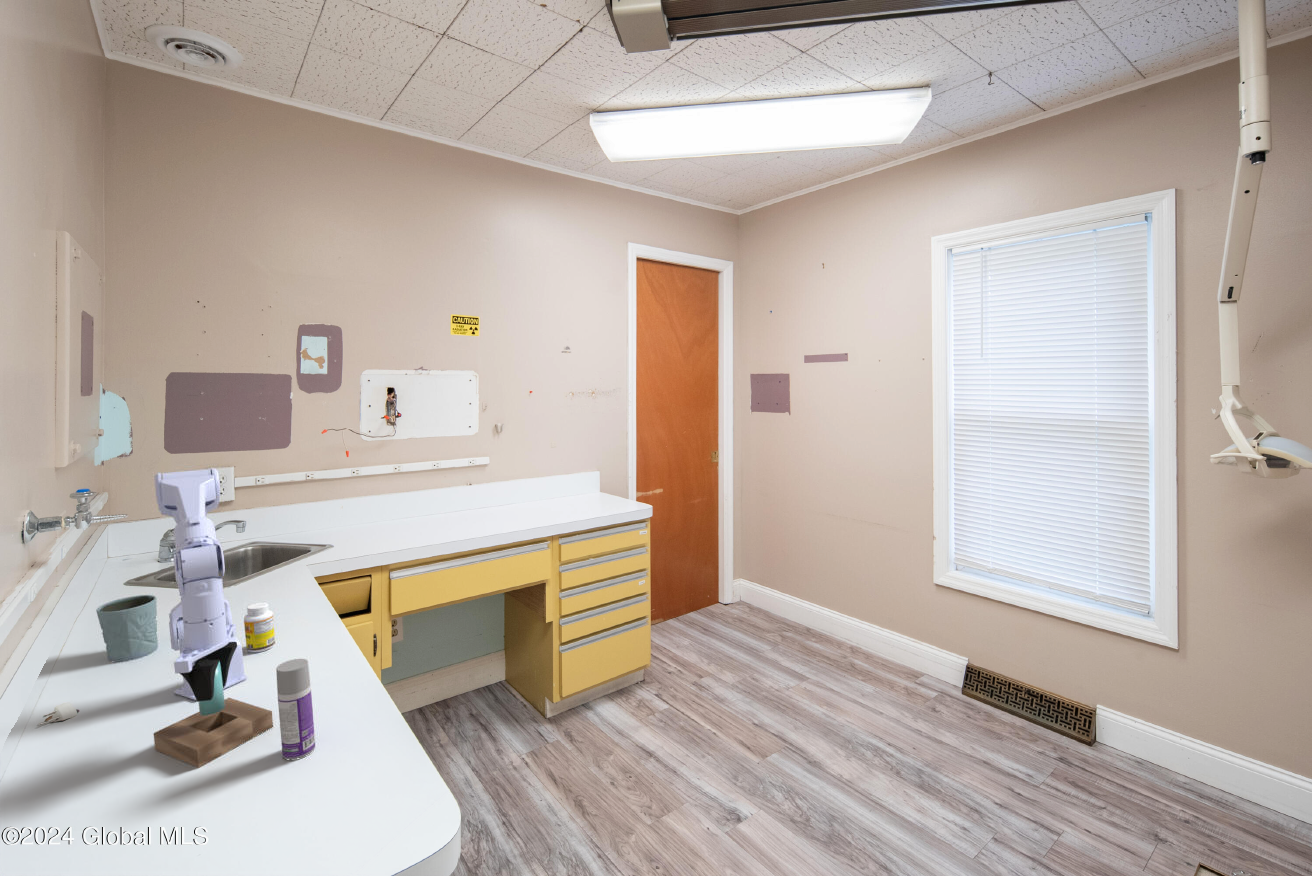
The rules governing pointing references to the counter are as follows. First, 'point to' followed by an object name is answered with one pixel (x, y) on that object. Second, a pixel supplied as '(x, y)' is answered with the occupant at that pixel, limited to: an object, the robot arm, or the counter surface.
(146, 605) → the green plant pot
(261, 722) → the socket block
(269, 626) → the supplement bottle
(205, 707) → the peg
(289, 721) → the container
